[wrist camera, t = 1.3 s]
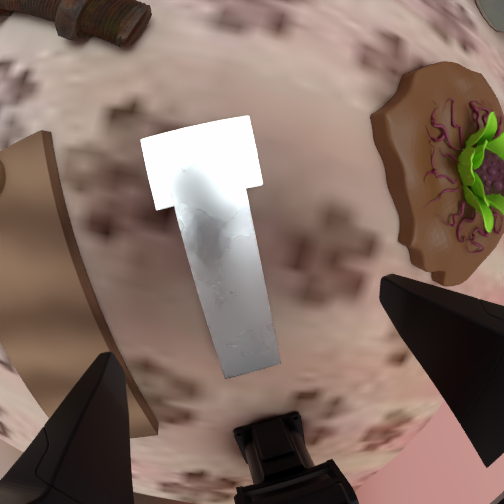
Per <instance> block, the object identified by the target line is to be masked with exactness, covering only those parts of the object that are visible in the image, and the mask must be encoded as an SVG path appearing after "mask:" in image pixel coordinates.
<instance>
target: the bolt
mask: <svg viewBox="0 0 504 504" xmlns="http://www.w3.org/2000/svg"><path fill="white" fill-rule="evenodd" d="M14 11H19V12H23V13H26V14H30V15H34V16H37V17H41V18H44V19H48V20H51V21H54V22H55V25H56V30H57V33H58V36H61V37H63V38H66V39H69V40H80V39H86V38H88V37H90V36H91V35H95V36H96V37H99V38H102V39H104V40H107V41H110V42H111V43H114V44H115V45H119V46H120V47H122V46H129V45H131V44H133V43H134V41H135V40H136V39H137V38H138V37H139V36H140V34H141V33H142V32H143V30H144V29H145V27H146V25H147V24H148V22H149V20H150V18H151V15H152V13H151V8H150V6H149V5H146V4H145V3H141V2H138V1H136V0H0V17H5V16H10V15H11V14H12V13H13V12H14Z"/></svg>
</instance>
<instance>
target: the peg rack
mask: <svg viewBox="0 0 504 504" xmlns="http://www.w3.org/2000/svg"><path fill="white" fill-rule="evenodd" d="M0 341H1V343H2V345H3V347H4V349H5V351H6V353H7V355H8V356H9V358H10V360H11V362H12V363H13V365H14V367H15V368H16V370H17V372H18V373H19V375H20V377H21V378H22V380H23V382H24V383H25V385H26V386H27V388H28V389H29V391H30V392H31V394H32V395H33V397H34V398H35V400H36V401H37V402H38V404H39V405H40V407H41V408H42V409H43V411H44V412H45V414H46V415H47V416H48V418H50V417H51V416H52V414H53V413H54V412H55V410H56V409H57V408H58V406H59V405H60V404H61V402H62V401H63V400H64V398H65V397H66V396H67V395H68V393H69V392H70V391H71V389H72V388H73V387H74V385H75V384H76V383H77V382H78V380H79V379H80V378H81V377H82V375H83V374H84V373H85V371H86V370H87V369H88V368H89V366H90V365H91V364H92V363H93V361H94V360H95V359H96V358H97V356H98V355H99V354H100V353H103V352H109V351H111V352H113V353H114V354H115V356H116V358H117V359H118V361H119V363H120V364H121V366H122V367H123V369H124V372H125V379H126V390H127V399H128V408H129V427H130V438H137V437H146V436H154V435H158V422H157V420H156V418H155V417H154V415H153V414H152V412H151V410H150V409H149V407H148V405H147V403H146V402H145V400H144V398H143V396H142V395H141V393H140V391H139V389H138V387H137V386H136V384H135V382H134V380H133V378H132V376H131V374H130V372H129V371H128V369H127V367H126V365H125V363H124V361H123V359H122V357H121V355H120V353H119V350H118V348H117V346H116V344H115V342H114V340H113V338H112V335H111V333H110V331H109V329H108V327H107V324H106V322H105V320H104V317H103V315H102V313H101V310H100V308H99V305H98V303H97V300H96V298H95V295H94V293H93V290H92V287H91V285H90V282H89V279H88V277H87V274H86V271H85V268H84V265H83V262H82V259H81V256H80V253H79V250H78V247H77V244H76V241H75V237H74V234H73V231H72V227H71V224H70V220H69V217H68V213H67V209H66V205H65V201H64V197H63V193H62V189H61V184H60V180H59V175H58V170H57V165H56V160H55V155H54V149H53V143H52V136H51V132H47V131H43V130H41V131H38V132H36V133H34V134H32V135H30V136H28V137H26V138H24V139H22V140H20V141H18V142H16V143H14V144H13V145H11V146H9V147H7V148H5V149H3V150H2V151H0Z"/></svg>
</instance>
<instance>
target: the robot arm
mask: <svg viewBox="0 0 504 504" xmlns="http://www.w3.org/2000/svg"><path fill="white" fill-rule="evenodd" d="M379 299H380V302H381V304H382V306H383V308H384V309H385V311H386V313H387V314H388V316H389V318H390V319H391V321H392V323H393V325H394V326H395V328H396V330H397V331H398V333H399V335H400V336H401V338H402V339H403V341H404V342H405V343H406V345H407V346H408V348H409V349H410V350H411V352H412V353H413V354H414V356H415V357H416V359H417V360H418V362H419V363H420V364H421V366H422V367H423V369H424V370H425V372H426V373H427V374H428V376H429V377H430V379H431V380H432V382H433V383H434V385H435V386H436V388H437V389H438V391H439V392H440V394H441V395H442V397H443V398H444V400H445V401H446V403H447V404H448V406H449V407H450V409H451V410H452V412H453V413H454V415H455V417H456V418H457V420H458V421H459V423H460V424H461V426H462V428H463V429H464V431H465V433H466V435H467V436H468V438H469V439H470V441H471V443H472V444H473V446H474V448H475V449H476V451H477V452H478V455H479V456H480V458H481V460H482V461H483V463H484V465H485V466H486V468H487V467H489V466H490V465H491V464H492V463H493V462H494V461H495V460H496V459H497V458H499V457H500V456H501V455H502V454H503V453H504V306H502V305H498V304H495V303H491V302H488V301H484V300H481V299H478V298H474V297H471V296H468V295H464V294H461V293H458V292H454V291H451V290H447V289H444V288H441V287H437V286H434V285H430V284H427V283H423V282H420V281H416V280H413V279H409V278H406V277H402V276H399V275H395V274H389V275H386V276H383V277H382V278H381V283H380V294H379ZM233 433H234V436H235V439H236V441H237V443H238V446H239V448H240V450H241V452H242V454H243V457H244V459H245V461H246V463H247V464H248V465H249V468H250V472H251V476H252V479H253V483H254V484H253V485H249V486H245V487H243V486H241V487H236V489H237V494H236V496H234V500H235V504H359V502H358V499H357V497H356V494H355V492H354V490H353V488H352V486H351V485H350V483H349V482H348V481H347V479H346V478H345V476H344V475H343V474H342V472H341V471H340V469H339V468H338V466H337V465H336V464H335V462H334V461H333V459H330V460H328V461H326V462H325V463H322V464H320V465H317V466H315V465H314V463H313V461H312V459H311V457H310V455H309V453H308V450H307V448H306V446H305V440H304V434H303V427H302V421H301V416H300V414H299V412H293V413H290V414H287V415H284V416H281V417H277V418H274V419H271V420H267V421H264V422H260V423H257V424H253V425H249V426H245V427H241V428H237V429H235V430H234V431H233ZM133 497H134V496H133V486H132V473H131V457H130V427H129V408H128V399H127V390H126V379H125V372H124V369H123V367H122V366H121V364H120V363H119V361H118V359H117V358H116V356H115V354H114V353H113V352H111V351H109V352H103V353H100V354H99V355H98V356H97V358H96V359H95V360H94V361H93V363H92V364H91V365H90V366H89V368H88V369H87V370H86V371H85V373H84V374H83V375H82V377H81V378H80V379H79V380H78V382H77V383H76V384H75V385H74V387H73V388H72V389H71V391H70V392H69V393H68V395H67V396H66V397H65V398H64V400H63V401H62V402H61V404H60V405H59V406H58V408H57V409H56V410H55V412H54V413H53V414H52V416H51V417H50V418H49V420H48V421H47V422H46V424H45V425H44V427H43V428H42V429H41V431H40V432H39V433H38V435H37V436H36V437H35V439H34V440H33V441H32V443H31V444H30V445H29V447H28V448H27V449H26V450H25V452H24V453H23V454H22V455H21V456H20V458H19V459H18V460H17V461H16V462H15V464H14V465H13V466H12V467H11V468H10V470H9V471H8V472H7V473H6V474H5V476H4V477H3V478H2V479H1V480H0V504H134V498H133ZM490 504H504V491H503V492H502V494H500V495H499V496H498V497H497V498H496V499H495V500H494V501H493V502H491V503H490Z"/></svg>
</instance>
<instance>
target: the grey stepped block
mask: <svg viewBox="0 0 504 504" xmlns="http://www.w3.org/2000/svg"><path fill="white" fill-rule="evenodd" d="M140 140H141V145H142V150H143V155H144V160H145V164H146V169H147V173H148V177H149V182H150V186H151V190H152V194H153V198H154V202H155V206H156V210H160V209H164V208H168V207H172V206H174V207H175V211H176V215H177V219H178V223H179V227H180V231H181V235H182V239H183V242H184V246H185V250H186V253H187V257H188V261H189V264H190V268H191V271H192V275H193V278H194V282H195V285H196V289H197V292H198V296H199V299H200V302H201V306H202V309H203V312H204V315H205V319H206V322H207V325H208V328H209V331H210V334H211V338H212V341H213V344H214V347H215V350H216V353H217V356H218V359H219V362H220V365H221V368H222V371H223V373H224V376H225V379H228V378H232V377H235V376H239V375H243V374H247V373H250V372H254V371H257V370H261V369H264V368H268V367H271V366H274V365H278V364H281V361H280V356H279V350H278V345H277V340H276V335H275V330H274V325H273V320H272V315H271V310H270V305H269V300H268V295H267V290H266V285H265V280H264V275H263V270H262V265H261V260H260V256H259V251H258V246H257V241H256V236H255V231H254V226H253V221H252V216H251V211H250V207H249V202H248V197H247V192H246V188H251V187H255V186H260V185H263V181H262V176H261V171H260V166H259V161H258V156H257V151H256V146H255V142H254V137H253V132H252V127H251V122H250V118H249V115H247V116H241V117H235V118H230V119H224V120H219V121H214V122H209V123H204V124H200V125H195V126H191V127H186V128H182V129H178V130H174V131H170V132H166V133H162V134H158V135H155V136H151V137H147V138H144V139H140Z"/></svg>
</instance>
